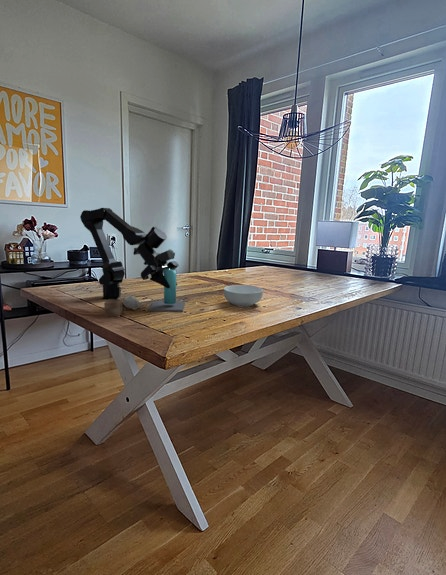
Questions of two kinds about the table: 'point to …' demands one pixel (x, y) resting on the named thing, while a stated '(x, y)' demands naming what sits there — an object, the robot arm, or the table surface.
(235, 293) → the cereal bowl
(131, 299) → the decorative stone
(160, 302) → the charcoal mat
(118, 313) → the walnut block
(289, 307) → the table surface
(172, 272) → the teal tall cylinder
